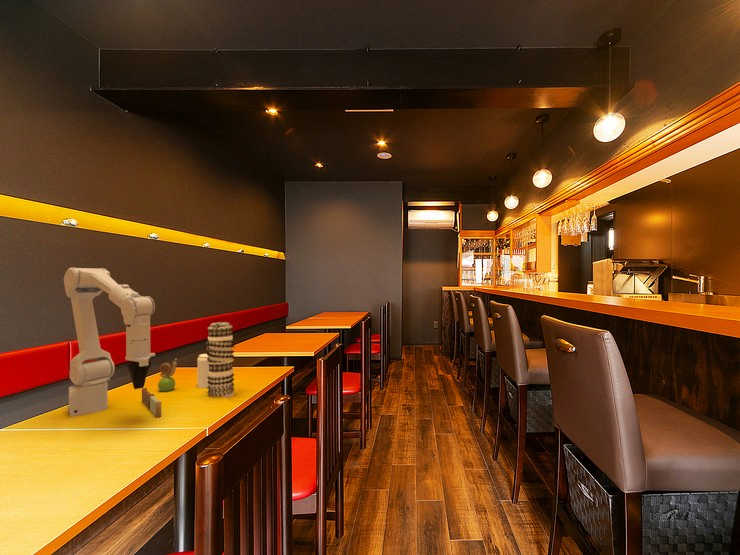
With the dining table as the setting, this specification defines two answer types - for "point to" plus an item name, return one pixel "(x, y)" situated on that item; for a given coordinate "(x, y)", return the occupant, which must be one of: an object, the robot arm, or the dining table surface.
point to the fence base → (146, 397)
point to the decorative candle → (220, 360)
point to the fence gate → (155, 406)
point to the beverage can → (202, 371)
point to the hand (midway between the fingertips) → (138, 388)
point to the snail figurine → (167, 377)
